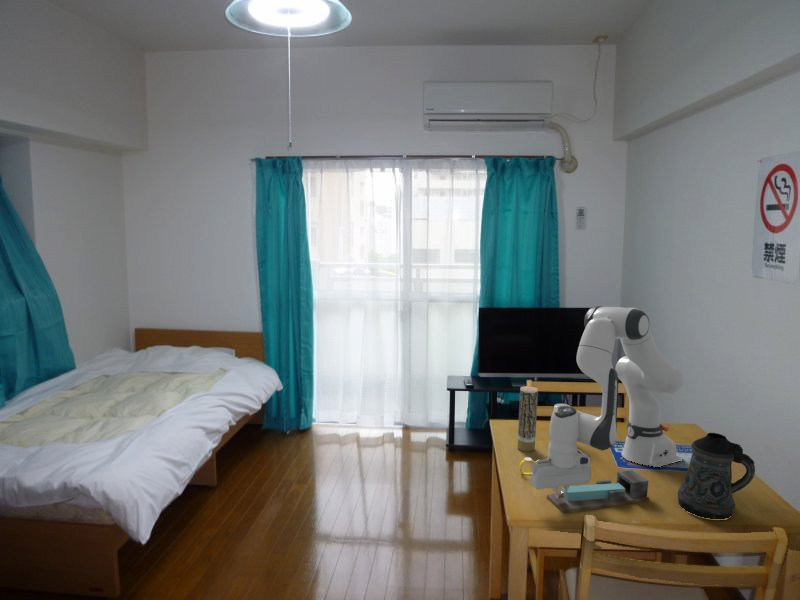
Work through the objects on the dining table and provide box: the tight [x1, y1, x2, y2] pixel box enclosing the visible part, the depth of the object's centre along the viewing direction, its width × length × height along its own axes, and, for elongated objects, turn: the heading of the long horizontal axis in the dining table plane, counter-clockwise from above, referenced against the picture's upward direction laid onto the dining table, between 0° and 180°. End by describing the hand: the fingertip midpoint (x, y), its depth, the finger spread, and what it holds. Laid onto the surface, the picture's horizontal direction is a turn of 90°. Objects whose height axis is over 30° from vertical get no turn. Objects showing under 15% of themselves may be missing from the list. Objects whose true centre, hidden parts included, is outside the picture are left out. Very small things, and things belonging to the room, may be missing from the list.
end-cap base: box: [546, 469, 650, 514], centre depth 186 cm, size 32×10×6 cm, turn 105°
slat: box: [565, 482, 625, 501], centre depth 186 cm, size 20×4×3 cm, turn 99°
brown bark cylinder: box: [517, 385, 539, 453], centre depth 224 cm, size 7×7×25 cm
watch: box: [518, 456, 536, 476], centre depth 203 cm, size 6×3×6 cm, turn 89°
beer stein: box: [677, 432, 756, 519], centre depth 180 cm, size 16×19×25 cm
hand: (559, 497), depth 183 cm, fingers closed
